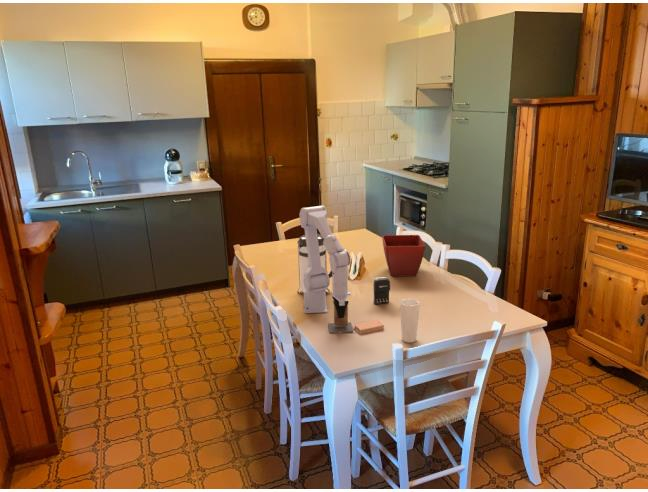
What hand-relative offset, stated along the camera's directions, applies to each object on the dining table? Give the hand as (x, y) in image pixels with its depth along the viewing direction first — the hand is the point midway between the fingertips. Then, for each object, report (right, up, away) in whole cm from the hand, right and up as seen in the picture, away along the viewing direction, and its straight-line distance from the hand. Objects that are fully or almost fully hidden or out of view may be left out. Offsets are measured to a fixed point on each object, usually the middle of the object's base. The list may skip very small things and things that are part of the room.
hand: (340, 315), depth 191 cm
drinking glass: (+25, -8, -8) cm, 27 cm away
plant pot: (+33, +13, +60) cm, 70 cm away
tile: (+10, -4, +3) cm, 11 cm away
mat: (0, -5, +2) cm, 6 cm away
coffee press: (-10, +5, +38) cm, 39 cm away
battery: (+19, +2, +24) cm, 30 cm away
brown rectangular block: (0, -3, +1) cm, 4 cm away
